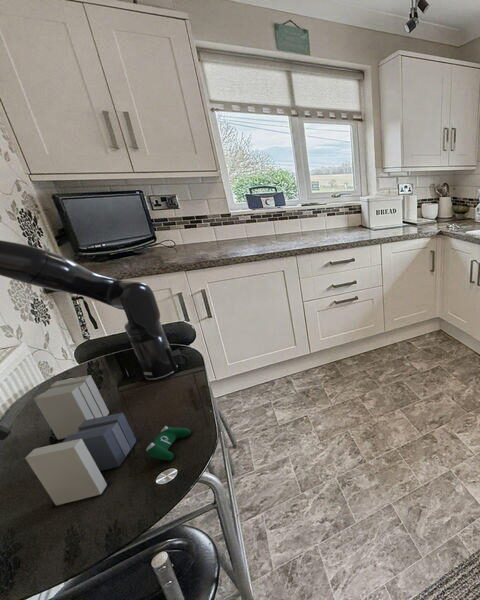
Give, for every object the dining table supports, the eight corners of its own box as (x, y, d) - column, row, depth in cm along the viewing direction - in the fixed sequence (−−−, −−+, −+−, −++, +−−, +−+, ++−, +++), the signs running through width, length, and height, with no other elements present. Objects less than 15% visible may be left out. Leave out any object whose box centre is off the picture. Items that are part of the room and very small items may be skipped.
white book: (63, 495, 69) (34, 448, 64) (107, 484, 71) (81, 438, 66) (56, 505, 67) (24, 458, 62) (101, 494, 69) (73, 447, 64)
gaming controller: (185, 439, 85) (163, 428, 83) (193, 429, 84) (170, 418, 82) (165, 468, 76) (139, 457, 74) (172, 458, 75) (147, 446, 73)
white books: (77, 419, 93) (56, 381, 88) (109, 412, 95) (90, 374, 90) (57, 439, 86) (33, 399, 81) (93, 432, 87) (71, 392, 83)
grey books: (100, 449, 81) (84, 418, 78) (136, 440, 83) (122, 411, 79) (79, 476, 74) (60, 444, 70) (119, 466, 75) (103, 434, 72)
